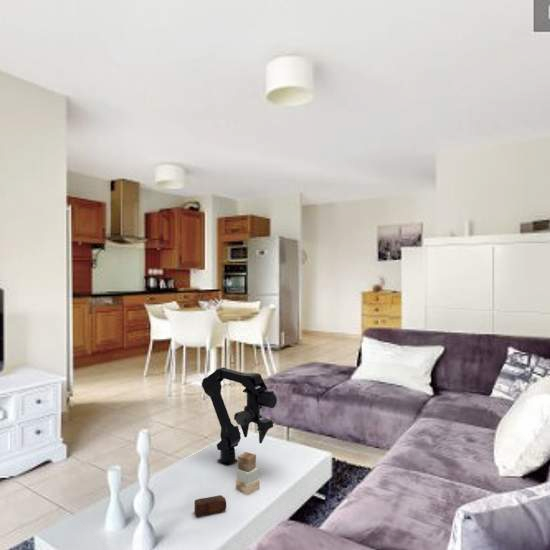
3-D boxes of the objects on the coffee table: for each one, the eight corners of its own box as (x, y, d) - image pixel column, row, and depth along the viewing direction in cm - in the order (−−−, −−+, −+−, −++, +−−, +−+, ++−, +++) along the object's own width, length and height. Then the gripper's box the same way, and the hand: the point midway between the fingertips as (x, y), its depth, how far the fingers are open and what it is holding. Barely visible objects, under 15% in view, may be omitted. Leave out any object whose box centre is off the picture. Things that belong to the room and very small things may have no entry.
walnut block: (238, 469, 162) (238, 456, 162) (245, 464, 166) (245, 451, 166) (248, 472, 159) (248, 459, 159) (255, 467, 164) (255, 454, 164)
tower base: (235, 489, 162) (235, 479, 162) (247, 483, 167) (248, 473, 167) (247, 495, 157) (247, 485, 157) (259, 489, 162) (259, 479, 162)
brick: (196, 518, 142) (196, 505, 142) (194, 512, 146) (194, 499, 146) (226, 512, 146) (226, 499, 146) (223, 506, 150) (223, 493, 150)
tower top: (236, 479, 162) (236, 469, 162) (247, 473, 166) (247, 463, 166) (247, 484, 158) (248, 474, 158) (258, 478, 163) (258, 468, 163)
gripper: (224, 403, 178) (224, 439, 178) (255, 413, 165) (254, 452, 165) (243, 397, 186) (243, 432, 186) (274, 407, 173) (273, 444, 173)
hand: (252, 440), depth 177 cm, fingers open, 9 cm apart
